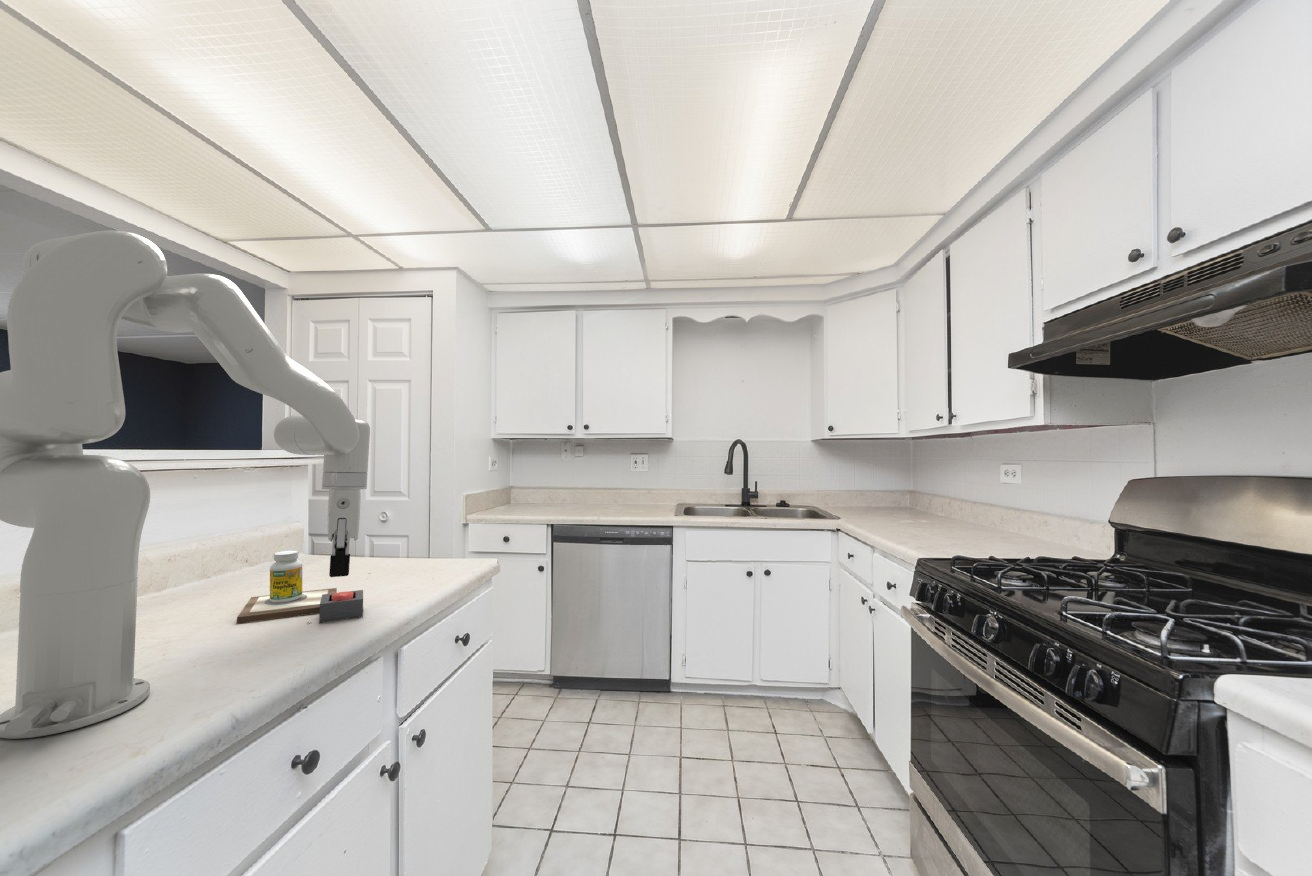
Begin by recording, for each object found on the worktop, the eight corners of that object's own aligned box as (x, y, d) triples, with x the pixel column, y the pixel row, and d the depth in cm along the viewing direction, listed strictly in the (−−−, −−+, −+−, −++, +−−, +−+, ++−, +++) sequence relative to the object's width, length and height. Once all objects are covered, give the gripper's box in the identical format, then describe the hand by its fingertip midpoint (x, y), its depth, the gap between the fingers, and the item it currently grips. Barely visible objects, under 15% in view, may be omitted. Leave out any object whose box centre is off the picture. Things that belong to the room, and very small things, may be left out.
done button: (352, 608, 97) (353, 595, 97) (330, 611, 95) (331, 597, 95) (353, 603, 100) (353, 590, 100) (331, 605, 98) (332, 593, 98)
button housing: (362, 617, 96) (363, 598, 96) (319, 623, 92) (319, 604, 93) (362, 606, 102) (363, 589, 102) (321, 612, 99) (322, 594, 99)
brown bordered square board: (333, 611, 99) (333, 603, 99) (236, 623, 91) (237, 615, 91) (336, 593, 111) (336, 586, 111) (251, 602, 103) (251, 595, 103)
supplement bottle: (303, 593, 105) (304, 548, 105) (300, 600, 100) (301, 553, 101) (271, 597, 102) (272, 551, 102) (267, 605, 98) (268, 556, 98)
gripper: (367, 483, 93) (361, 582, 92) (366, 480, 106) (361, 567, 105) (319, 483, 89) (312, 586, 88) (324, 480, 102) (318, 570, 101)
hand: (339, 575), depth 97 cm, fingers closed
